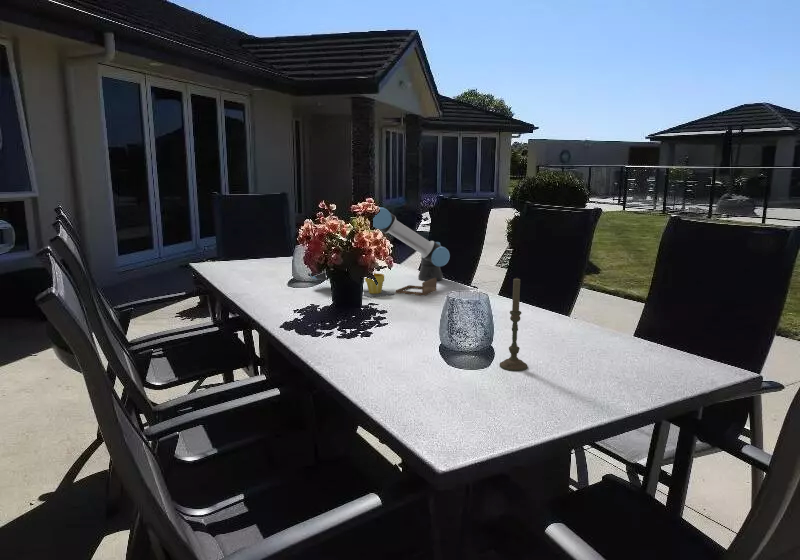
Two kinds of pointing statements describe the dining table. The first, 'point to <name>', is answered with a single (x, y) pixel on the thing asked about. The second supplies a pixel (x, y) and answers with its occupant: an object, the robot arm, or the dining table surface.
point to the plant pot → (372, 286)
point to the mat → (383, 293)
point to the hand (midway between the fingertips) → (369, 277)
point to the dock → (426, 288)
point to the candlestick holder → (514, 333)
